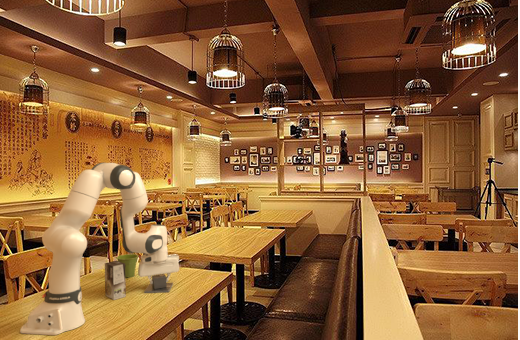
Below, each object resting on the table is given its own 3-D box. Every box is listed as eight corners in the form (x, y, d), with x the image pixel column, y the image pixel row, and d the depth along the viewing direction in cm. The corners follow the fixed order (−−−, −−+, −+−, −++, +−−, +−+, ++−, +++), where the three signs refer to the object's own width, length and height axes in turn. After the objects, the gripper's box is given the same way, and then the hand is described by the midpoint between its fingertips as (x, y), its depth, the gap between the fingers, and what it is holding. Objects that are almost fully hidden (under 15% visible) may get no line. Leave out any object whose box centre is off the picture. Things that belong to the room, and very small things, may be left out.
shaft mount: (144, 293, 186) (144, 285, 185) (149, 285, 198) (149, 277, 197) (169, 292, 186) (168, 284, 186) (173, 284, 198) (172, 276, 198)
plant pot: (134, 279, 207) (134, 259, 207) (113, 279, 208) (112, 259, 207) (141, 273, 219) (141, 253, 219) (121, 273, 219) (121, 254, 219)
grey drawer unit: (154, 289, 188) (154, 277, 188) (152, 285, 193) (151, 274, 193) (166, 287, 191) (166, 275, 191) (163, 283, 196) (163, 272, 196)
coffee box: (126, 296, 181) (125, 263, 181) (113, 300, 176) (112, 266, 176) (117, 292, 187) (117, 260, 187) (104, 295, 182) (104, 262, 182)
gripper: (177, 252, 199) (177, 278, 199) (137, 256, 190) (137, 283, 190) (180, 254, 193) (180, 281, 194) (139, 259, 184) (139, 287, 185)
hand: (159, 282), depth 192 cm, fingers closed on grey drawer unit, 6 cm apart
